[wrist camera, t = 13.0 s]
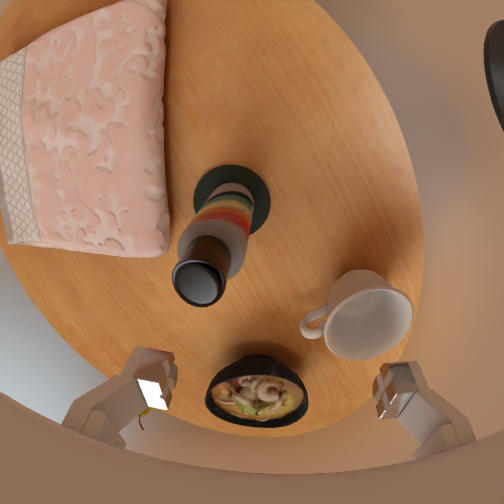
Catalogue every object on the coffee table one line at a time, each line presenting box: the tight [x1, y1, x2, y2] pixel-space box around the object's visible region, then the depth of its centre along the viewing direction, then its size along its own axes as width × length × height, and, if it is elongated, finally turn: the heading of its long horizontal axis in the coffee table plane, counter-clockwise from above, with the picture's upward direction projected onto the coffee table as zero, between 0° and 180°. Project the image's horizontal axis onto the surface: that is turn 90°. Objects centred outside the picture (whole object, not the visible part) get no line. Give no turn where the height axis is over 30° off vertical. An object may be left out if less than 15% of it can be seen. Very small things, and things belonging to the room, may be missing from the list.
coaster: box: [194, 165, 270, 235], centre depth 37 cm, size 10×10×1 cm
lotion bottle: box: [172, 183, 254, 307], centre depth 28 cm, size 6×6×20 cm
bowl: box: [205, 355, 308, 428], centre depth 46 cm, size 17×17×10 cm
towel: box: [0, 0, 171, 258], centre depth 31 cm, size 36×34×6 cm
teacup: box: [300, 269, 413, 360], centre depth 37 cm, size 12×15×10 cm
